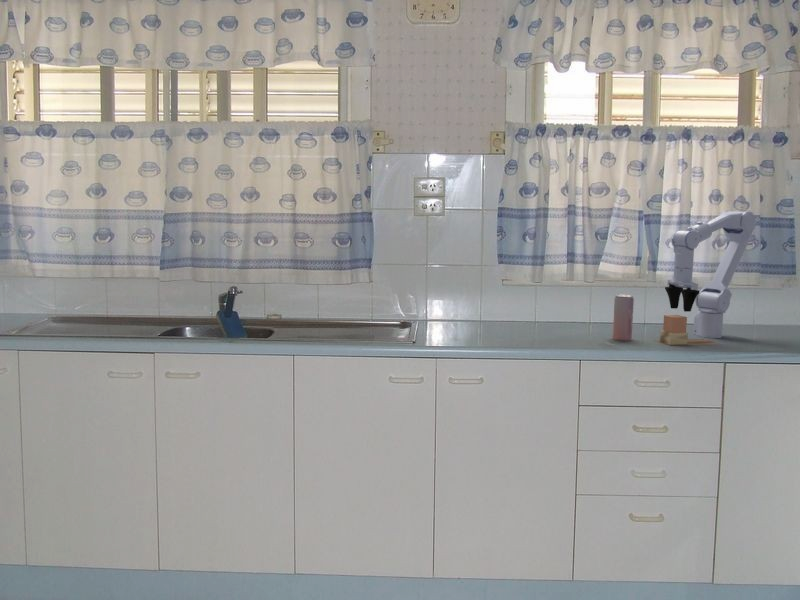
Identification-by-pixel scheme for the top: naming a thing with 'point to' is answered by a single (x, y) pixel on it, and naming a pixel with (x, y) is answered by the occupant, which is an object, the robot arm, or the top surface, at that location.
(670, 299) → the robot arm
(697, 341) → the base plate
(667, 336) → the birch block
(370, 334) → the top surface
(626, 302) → the beverage can
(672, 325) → the terracotta block
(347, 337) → the top surface
